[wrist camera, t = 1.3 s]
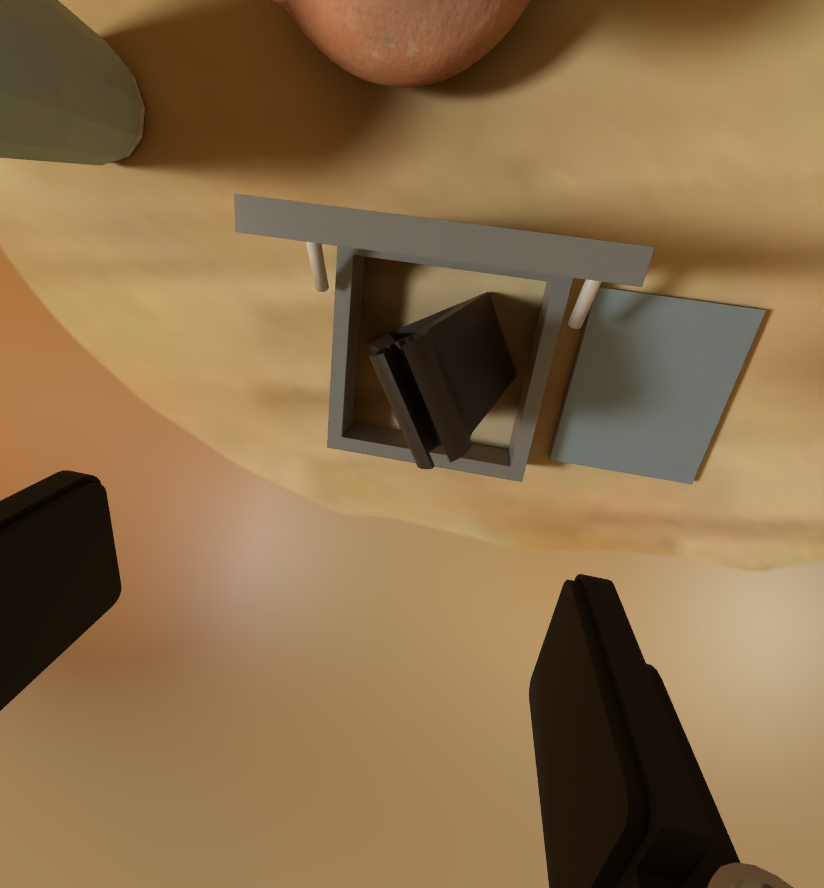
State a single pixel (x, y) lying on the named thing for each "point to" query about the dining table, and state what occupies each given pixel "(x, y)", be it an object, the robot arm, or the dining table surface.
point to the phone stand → (443, 376)
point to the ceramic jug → (404, 35)
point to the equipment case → (450, 249)
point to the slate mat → (651, 383)
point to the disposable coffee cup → (63, 89)
